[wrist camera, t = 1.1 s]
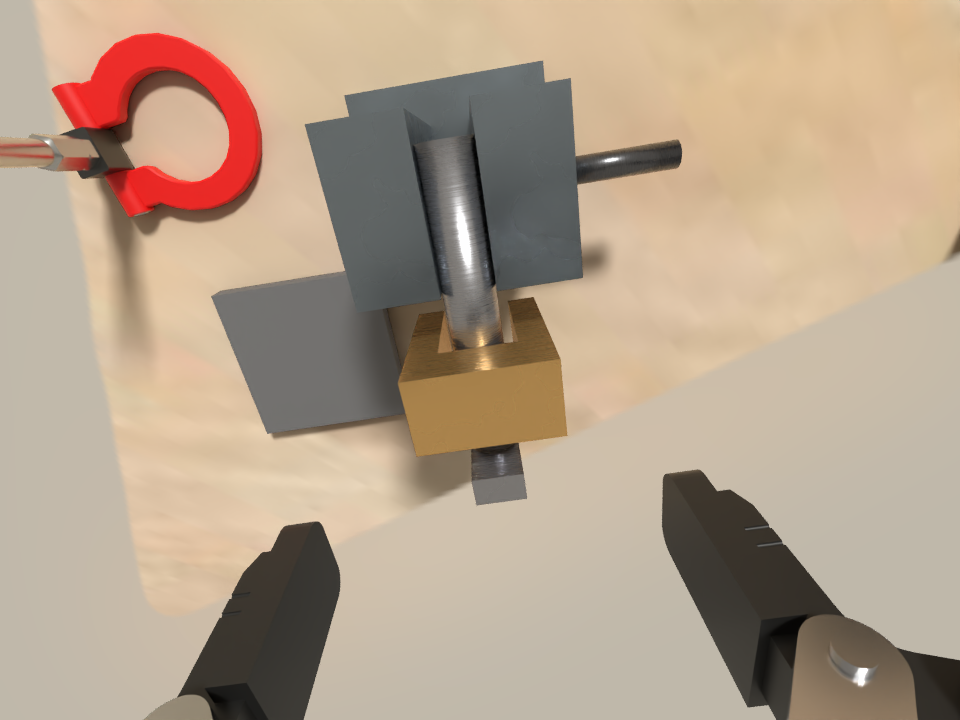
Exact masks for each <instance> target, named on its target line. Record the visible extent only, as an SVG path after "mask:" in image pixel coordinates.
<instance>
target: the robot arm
mask: <svg viewBox="0 0 960 720" xmlns="http://www.w3.org/2000/svg"><path fill="white" fill-rule="evenodd" d="M662 509H663V510H662V528H663V534H664V538H665V542H666V545H667V548H668V551H669V553H670V555H671V557H672V559H673V561H674V563H675V565H676V567H677V569H678V570H679V573H680V575H681V577H682V579H683V581H684V583H685V584H686V587H687V589H688V591H689V592H690V595H691V596H692V598H693V600H694V602H695V604H696V606H697V608H698V610H699V612H700V614H701V616H702V618H703V620H704V622H705V624H706V626H707V628H708V630H709V632H710V634H711V636H712V638H713V640H714V642H715V644H716V646H717V648H718V650H719V652H720V654H721V655H722V658H723V659H724V661H725V663H726V665H727V667H728V669H729V671H730V673H731V675H732V677H733V679H734V681H735V683H736V685H737V687H738V689H739V691H740V693H741V695H742V697H743V699H744V701H745V703H746V705H747V707H755V706H764V705H769V707H770V709H771V711H772V712H773V714H774V716H775V718H776V720H960V660H955V659H948V658H943V657H937V656H932V655H926V654H920V653H914V652H910V651H906V650H902V649H899V648H896V647H895V646H894V645H893V644H892V643H891V642H890V641H888V640H887V639H886V638H885V637H883V636H882V635H881V634H880V633H878V632H876V631H875V630H873V629H872V628H870V627H868V626H866V625H864V624H862V623H860V622H858V621H855V620H853V619H850V618H847V617H844V615H843V614H842V613H841V612H840V611H839V610H838V609H837V608H836V606H835V605H834V604H833V603H832V602H831V600H830V599H829V598H828V597H827V595H826V594H825V593H824V592H823V591H822V589H821V588H820V587H819V585H818V584H817V583H816V582H815V581H814V579H813V578H812V577H811V576H810V574H809V573H808V572H807V571H806V569H805V568H804V567H803V566H802V565H801V563H800V562H799V561H798V560H797V558H796V557H795V556H794V555H793V554H792V552H791V551H790V550H789V549H788V547H787V546H786V545H783V543H782V540H781V539H780V538H779V536H778V535H777V534H776V533H775V532H774V530H773V529H772V528H769V524H768V523H767V522H766V520H765V519H764V518H763V517H762V515H761V514H760V513H759V512H758V510H757V509H756V508H755V507H754V506H753V505H752V504H751V503H749V502H748V501H746V500H745V499H743V498H742V497H740V496H739V495H737V494H736V493H734V492H733V491H731V490H723V491H716V489H715V488H714V486H713V485H712V484H711V483H710V481H709V480H708V478H707V477H706V476H705V474H704V473H703V472H702V471H700V470H692V471H684V472H677V473H670V474H665V475H664V477H663V504H662ZM339 592H340V572H339V567H338V565H337V562H336V560H335V557H334V554H333V552H332V549H331V546H330V544H329V541H328V539H327V536H326V534H325V531H324V528H323V526H322V525H321V523H320V522H309V523H302V524H295V525H288V526H285V527H284V528H283V529H282V530H281V532H280V534H279V536H278V538H277V540H276V542H275V544H274V546H273V548H272V550H271V551H269V552H262V553H261V554H260V555H259V556H258V558H257V559H256V560H255V561H254V562H253V563H252V564H251V565H250V566H249V567H248V568H247V569H246V570H245V571H244V573H243V574H242V576H241V578H240V580H239V582H238V584H237V586H236V588H235V590H234V591H233V593H232V599H229V601H228V603H227V605H226V607H225V609H224V611H223V612H222V618H219V620H218V622H217V624H216V626H215V627H214V629H213V631H212V633H211V635H210V637H209V639H208V641H207V643H206V645H205V647H204V648H203V650H202V652H201V654H200V656H199V658H198V660H197V662H196V664H195V666H194V667H193V669H192V671H191V673H190V675H189V677H188V679H187V681H186V682H185V685H184V686H183V688H182V690H181V692H180V693H179V695H178V697H177V698H175V699H172V700H170V701H168V702H166V703H165V704H163V705H161V706H160V707H158V708H157V709H156V710H154V711H153V712H152V713H150V714H149V715H148V716H147V717H146V718H145V719H144V720H304V716H305V712H306V709H307V705H308V702H309V699H310V695H311V691H312V688H313V684H314V681H315V677H316V674H317V670H318V667H319V663H320V660H321V656H322V653H323V649H324V646H325V642H326V639H327V635H328V632H329V628H330V625H331V621H332V617H333V614H334V611H335V607H336V604H337V600H338V597H339Z"/></svg>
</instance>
